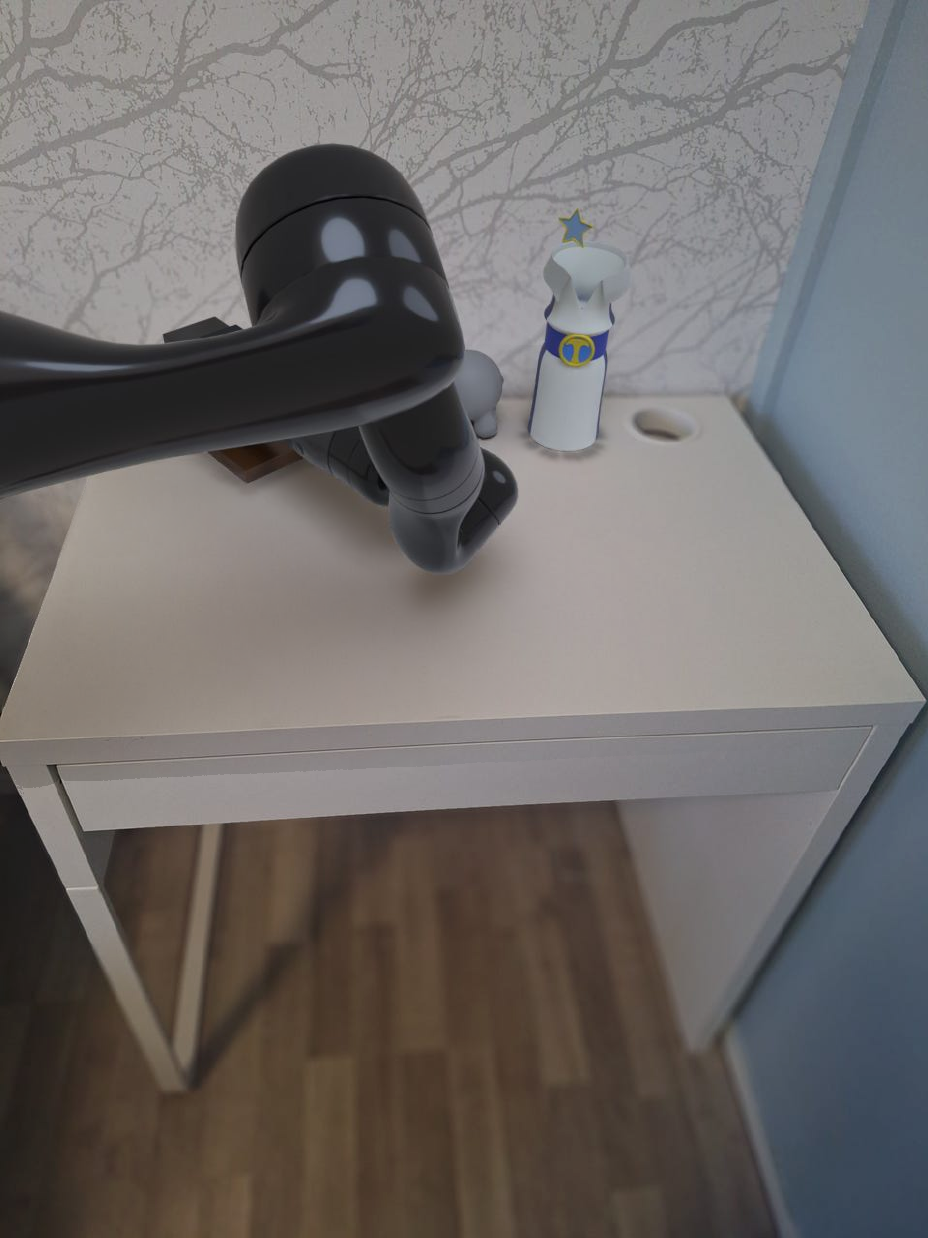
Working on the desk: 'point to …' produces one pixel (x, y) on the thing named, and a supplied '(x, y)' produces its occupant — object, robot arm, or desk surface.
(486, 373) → the round bodied animal figurine
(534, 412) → the white piece
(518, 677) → the desk surface
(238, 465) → the black brown block stand
